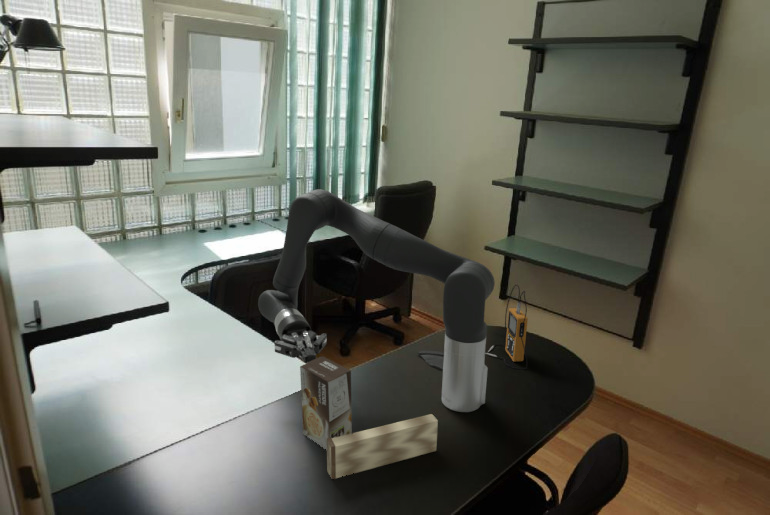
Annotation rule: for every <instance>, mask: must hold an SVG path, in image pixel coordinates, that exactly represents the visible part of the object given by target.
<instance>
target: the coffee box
mask: <svg viewBox="0 0 770 515" xmlns="http://www.w3.org/2000/svg"><path fill="white" fill-rule="evenodd" d="M299 370H300V371H299V376H300V393H301V394H300V395H301V412H302V413H301V416H302V434H304V436H305V435H306V436H307V437H306V436H305V437H306V438H308V437H309V438H310V439H309V438H308V439H309V440H311V439H312V440H313V441H314V443H315V442H316V443H317V444H316V443H315V444H316V445H318V444H319V445H320V446H319V445H318V446H319V447H321V448H322V447H323V448H322V449H323V450H325V449H326V450H325V451H327V438H330V437H331V438H335V437H339V436H343V435H347V434H351V433H353V432H352V370H351V369H349V368H347V367H345V366H343V365H341V364H339V363H337V362H335V361H333V360H332V359H329V358H327V357H325V356H324V355H321V356H319V357H316V359H314V360H312V361H310V362H308V363H307V362H306V363H305V364H302V365H300V366H299ZM312 440H311V441H312ZM313 441H312V442H313Z"/></svg>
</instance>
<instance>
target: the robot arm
mask: <svg viewBox="0 0 770 515" xmlns="http://www.w3.org/2000/svg"><path fill="white" fill-rule="evenodd" d="M286 225H287V226H286V231H285V236H284V243H283V249H282V252H281V257H280V260H279V263H278V264H277V268H276V271H275V273H274V276H273V279H272V280H273V281H272V285H273V287H274V288H275V290H273V289H267V290H265V291H263V292H262V293H260V295H259V297H258V301H257V305H258V306H257V307H258V310H259V312H260V314H261V315H262V316H263V317H264V318H265V319H267V320H268V321H269V322H271V323H273V325H274V327H275V331H276V334H277V335H278V337H279V339H280V340H275V341H274V352H275V353H277V354H279V355H282V356H286V357H289V358H292V359H296V358H297V356H298V357H299V358H301V360H302V361H303V363H305V364H307V363H308V362H310V361H312V360H314V359H317V355H318V354H320V353H321V351H322V350H323V349H324V348H325V347H326V345H327V344H328V343H327V342H328V341H327V340H328V338H327V333H321V334H320V335H318V334H317V333H316V332H315V331H313V330H312V328H311V326H310V324H309V323H308V321H307V319H306V318H305V317H304V315H303V314H302V313H301V312H300V311H299V310H298V302H299V301H298V295H299V289H300V284H301V281H302V279H303V278H304V274H305V273H306V272H305V271H306V268H307V267H306V266H307V257H306V249H307V246H308V243H309V241H310V239H311V238H312V236H313V234H314V233H315V232H316V231H318V230H321V229H322V228H324V227H326V226H327V227H328V226H329V227H332V228H334V229H337V230H339V231H341V232H342V233H344V234H346V235H348V236H350V237H351V238H352V240H354V241H355V243H356V244H357V246H358V247H359V248H360V250H361V251H362V252H363V254H365V255H366V256H367V257H369V258H370V259H372V260H374V261H376V262H378V263H380V264H382V265H384V266H385V267H388V268H390V269H392V270H396V271H401V272H404V273H409V274H416V275H422V276H426V277H429V278H432V279H435V280H437V281H439V282H440V283H443V284H444V287H443V294H442V295H443V296H442V322H443V325H444V328H445V330H444V347H443V348H444V349H443V352H444V362H443V371H442V381H441V382H442V385H441V386H442V387H441V403H442V404H443V406H444V407H446V408H447V409H449V410H450V411H454V412H458V413H459V412H460V413H470V412H474V411H476V410H479V408H480V407H481V406H483V405H484V404H485V403H486V391H487V381H488V380H487V378H488V369H489V368H488V366H487V364H485V362H486V361H485V360H486V358H485V357H486V354H485V353H486V344H487V336H488V334H487V333H488V325H487V323H486V321H485V312H486V311H485V309H486V307H485V306H486V300H487V299H488V298H489V297H490V295H491V294H492V293H493V291H494V288H495V286H496V285H495V281H496V280H495V277H494V275H493V273H492V272H491V270H490V269H489V268H488V267H487V266H485V265H484V264H483V263H480V262H478V261H476V260H472V259H470V258H466V257H465V256H464V257H463V256H461V255H457V254H456V253H453V252H450V251H447V250H445V249H442V248H440V247H438V246H436V245H435V244H433V243H430V242H429V241H426V240H424V239H422V238H420V237H418V236H416V235H414V234H412V233H410V232H408V231H406V230H404V229H402V228H400V227H398V226H396V225H393V224H391V223H390V222H387V221H384V220H382V219H381V218H378V217H376V216H374V215H372V214H370V213H367V212H366V211H363V210H361V209H358V208H357V207H355V206H354V205H352V204H350V203H348V202H347V201H346V200H343V199H342V198H341V197H339V196H338V195H336V194H334V193H332V192H330V191H328V190H325V189H323V188H322V189H320V188H319V189H318V188H317V189H313V190H311V191H308V192H305V193H302V194H301V195H299V196H297V197H296V198H294V200H292V202H291V204H290V207H289V212H288V217H287V224H286Z"/></svg>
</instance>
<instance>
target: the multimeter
mask: <svg viewBox="0 0 770 515" xmlns="http://www.w3.org/2000/svg"><path fill="white" fill-rule="evenodd" d="M516 286H517V287H518V299H517V300H518V301H517V305H516V307H513V308H512V307H511V308H508V306H509V304H510V303H509V302H510V299H511V296H512V294H513V291H514V289H515V287H516ZM520 291H521V290H520V286H519V285H518V284H515V285H514V286H513V287H512V289H511V292H510V294H509V297H508V300H507V304H506V310H505V315H504V335H503V341H502V343H497V344H493V345H492V346H490V348H488V349H489V350H488V351H487V352H485V355H487V356H490V357H494V358H499V359H502V360H503V362H504V364H505V365H507V366H508V367H509V368H512V369H515V370H526V369H527V368H528V363H529V362H528V356H527V353H526V352H527V351H526V337H527V329H528V320H529V318H528V317H527V311H528V310H527V302H526V291H525V290H523V291H522V292H520ZM522 296H523V299H524V305H525V314H524V313H523V311H522V310H521V306H522V305H521V301H522ZM507 312H508V316H507ZM504 343H505V348H504V349H505V352H506V353H507V355H508V356H509V357H510V359H511V360H512V361H513V362H523V361H524V359H526V360H525V361H526V366H525V367H524V368H520V367H516V366H514V367H513V366H511V365H510V364H508V363H507V362H506V359H505V358H504V357H501V356H497V355H496V354H492V353H491V352H490V351H492V350H493V349H494V347H495V346H503V345H504ZM489 352H490V353H489ZM524 356H525V358H524Z"/></svg>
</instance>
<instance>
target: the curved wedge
mask: <svg viewBox="0 0 770 515" xmlns="http://www.w3.org/2000/svg"><path fill="white" fill-rule="evenodd" d="M417 355H418V356H419V358H421V359H423V360H424V362H426V363H427V365H428V366H429V367H431V368H434V369H435V370H438V371H441V372H443V362H444V351H443V352H442V351H437V350H420V351H418V352H417ZM418 356H417V357H418Z"/></svg>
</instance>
